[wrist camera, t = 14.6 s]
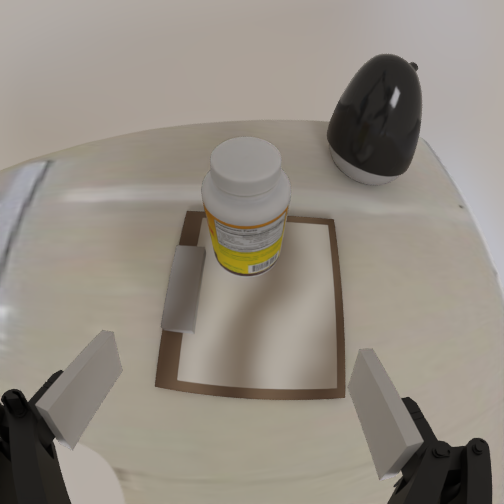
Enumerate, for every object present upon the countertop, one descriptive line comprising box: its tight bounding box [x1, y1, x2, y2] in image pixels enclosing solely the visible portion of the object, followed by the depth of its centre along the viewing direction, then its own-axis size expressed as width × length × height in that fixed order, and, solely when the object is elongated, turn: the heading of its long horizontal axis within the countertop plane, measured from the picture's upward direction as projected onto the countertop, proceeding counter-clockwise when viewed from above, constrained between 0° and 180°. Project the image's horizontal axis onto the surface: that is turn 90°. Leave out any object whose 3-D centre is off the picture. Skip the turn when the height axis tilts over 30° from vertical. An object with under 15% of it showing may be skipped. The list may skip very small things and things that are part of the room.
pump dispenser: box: [327, 54, 422, 185], centre depth 23 cm, size 10×10×15 cm
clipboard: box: [155, 211, 345, 400], centre depth 21 cm, size 14×16×2 cm
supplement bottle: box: [201, 137, 291, 278], centre depth 19 cm, size 6×6×10 cm
